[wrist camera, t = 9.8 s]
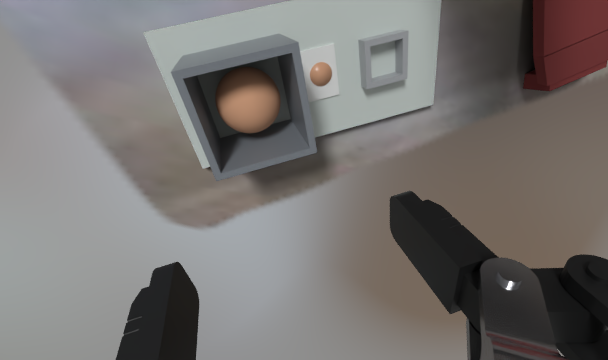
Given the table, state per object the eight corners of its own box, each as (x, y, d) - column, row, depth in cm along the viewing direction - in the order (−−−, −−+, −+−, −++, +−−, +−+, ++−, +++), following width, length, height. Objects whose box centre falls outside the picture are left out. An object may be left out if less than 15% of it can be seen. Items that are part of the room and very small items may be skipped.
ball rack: (203, 164, 33) (199, 210, 26) (145, 31, 25) (115, 41, 18) (428, 102, 37) (482, 127, 29) (437, -32, 29) (513, -45, 21)
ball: (233, 48, 27) (236, 58, 22) (285, 82, 30) (299, 98, 25) (205, 103, 29) (202, 123, 24) (257, 130, 32) (264, 153, 27)
